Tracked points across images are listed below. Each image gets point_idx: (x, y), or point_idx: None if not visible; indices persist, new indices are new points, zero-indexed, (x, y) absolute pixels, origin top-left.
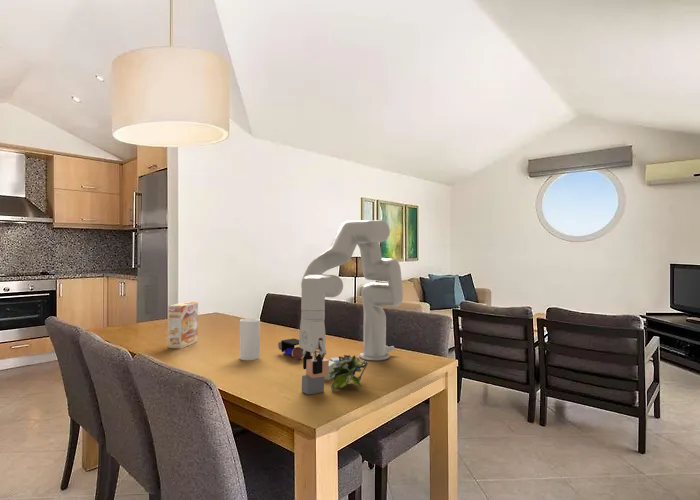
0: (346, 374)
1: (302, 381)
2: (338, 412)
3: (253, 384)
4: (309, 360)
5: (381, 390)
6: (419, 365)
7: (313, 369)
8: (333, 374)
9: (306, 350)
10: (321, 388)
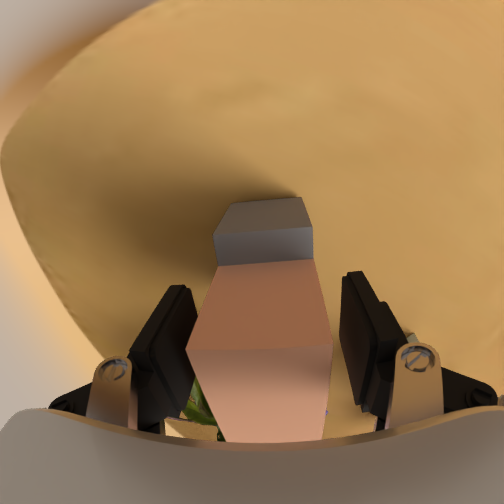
0: None
1: (298, 214)
2: (43, 245)
3: (482, 57)
4: (278, 355)
5: None
6: None
7: (160, 303)
8: None
9: (173, 442)
10: None
